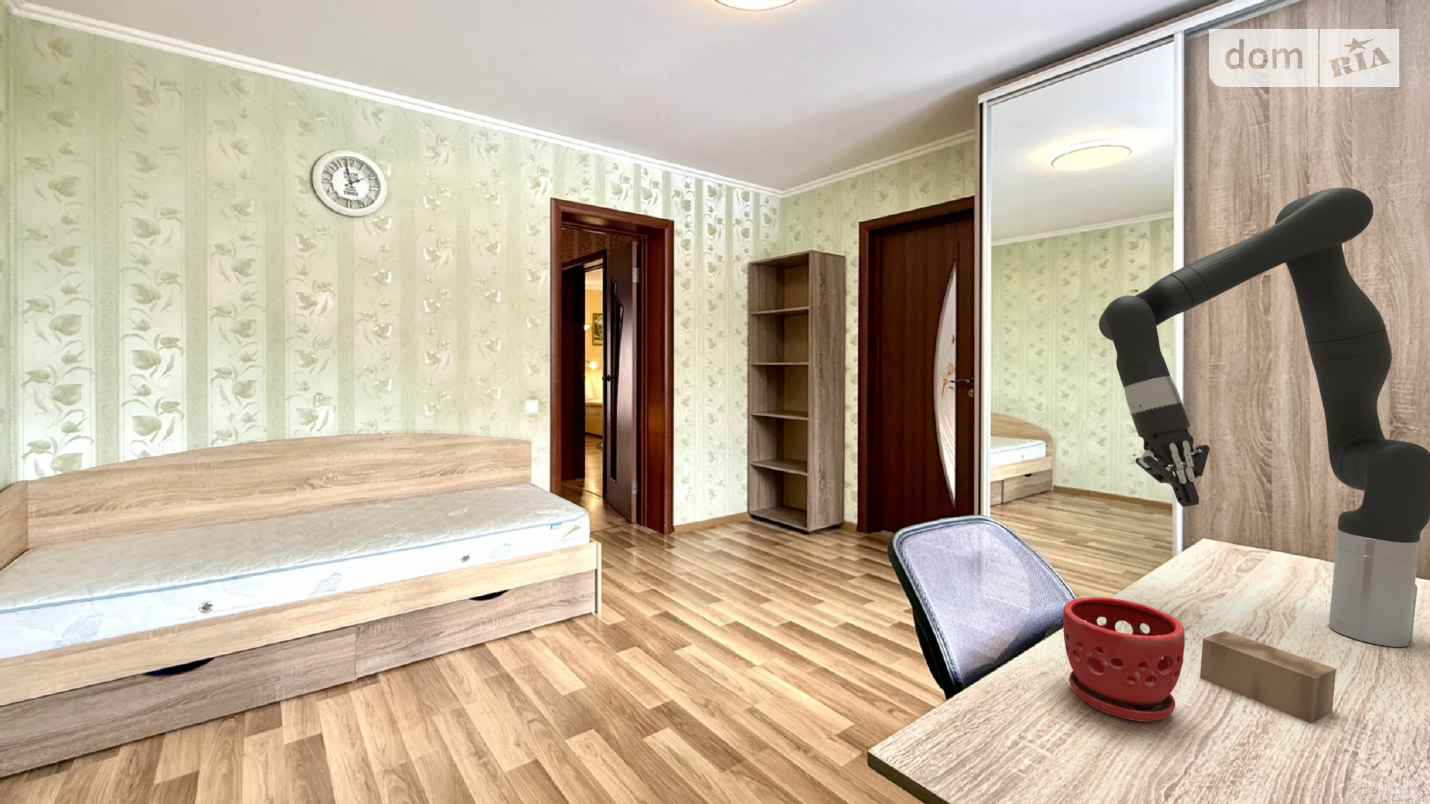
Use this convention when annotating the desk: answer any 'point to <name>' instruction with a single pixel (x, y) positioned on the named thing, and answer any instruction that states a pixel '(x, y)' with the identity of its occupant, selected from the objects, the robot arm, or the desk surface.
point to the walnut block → (1269, 675)
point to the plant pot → (1123, 657)
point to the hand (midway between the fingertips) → (1190, 505)
